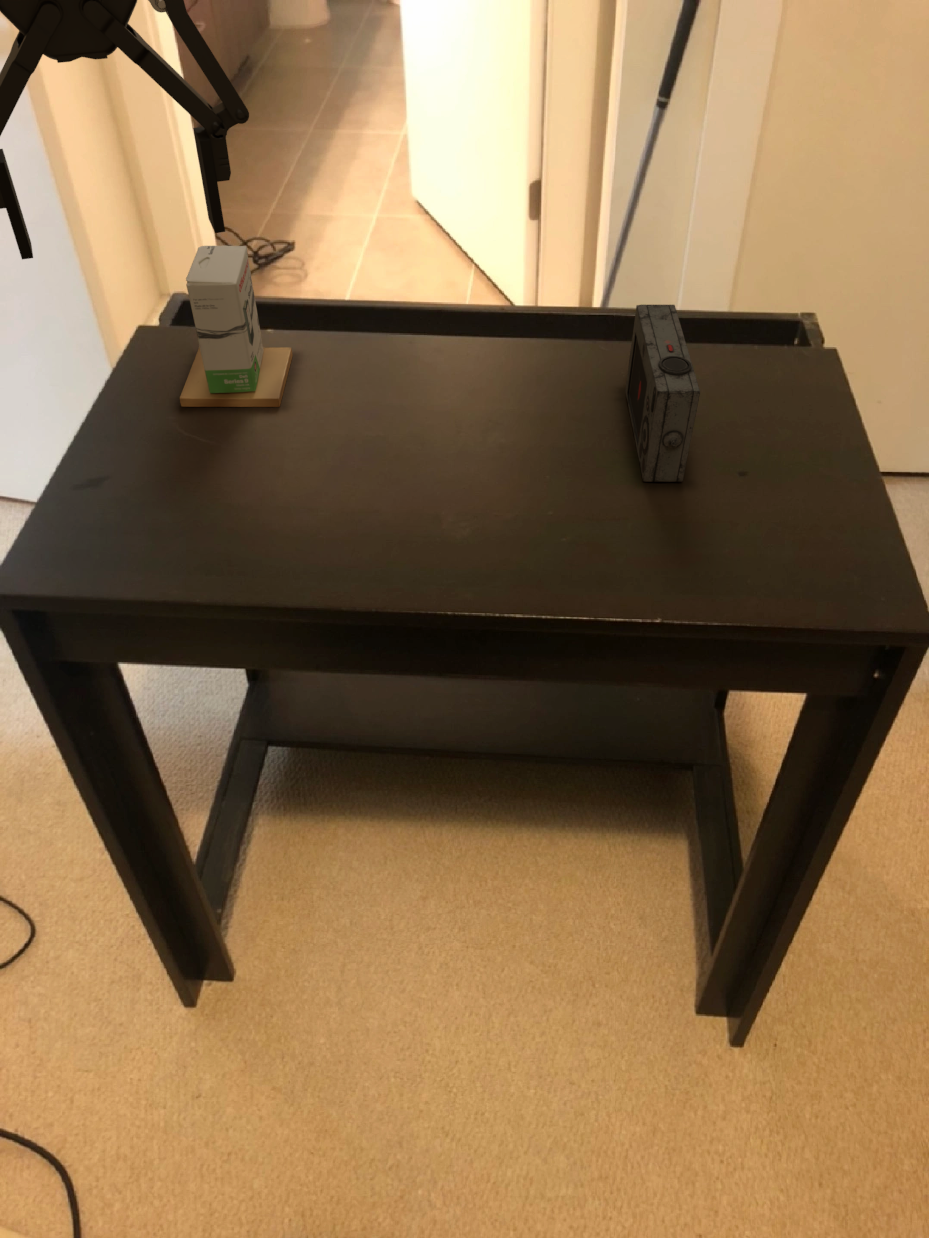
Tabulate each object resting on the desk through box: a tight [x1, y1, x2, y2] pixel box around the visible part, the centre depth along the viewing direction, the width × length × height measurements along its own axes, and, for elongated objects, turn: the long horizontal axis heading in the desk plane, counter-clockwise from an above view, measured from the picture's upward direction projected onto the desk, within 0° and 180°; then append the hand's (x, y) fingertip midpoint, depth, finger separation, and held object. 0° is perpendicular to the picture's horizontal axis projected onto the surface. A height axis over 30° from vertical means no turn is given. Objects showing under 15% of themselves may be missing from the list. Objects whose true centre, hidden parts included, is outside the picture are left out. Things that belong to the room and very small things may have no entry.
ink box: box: [185, 245, 264, 393], centre depth 98 cm, size 9×5×12 cm, turn 2°
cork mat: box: [179, 346, 293, 408], centre depth 103 cm, size 10×10×1 cm
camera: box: [624, 304, 701, 483], centre depth 92 cm, size 16×4×10 cm, turn 0°
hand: (124, 238), depth 72 cm, fingers open, 13 cm apart
